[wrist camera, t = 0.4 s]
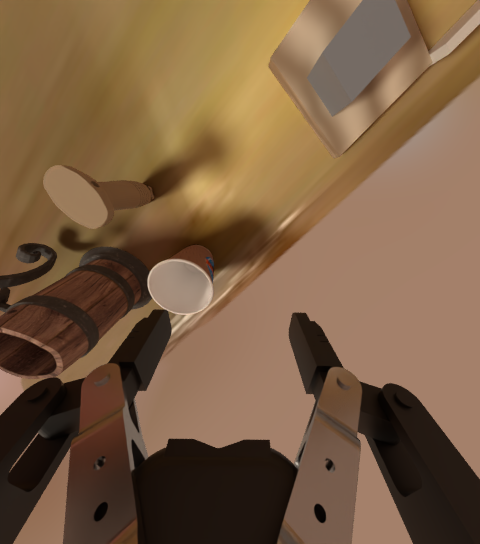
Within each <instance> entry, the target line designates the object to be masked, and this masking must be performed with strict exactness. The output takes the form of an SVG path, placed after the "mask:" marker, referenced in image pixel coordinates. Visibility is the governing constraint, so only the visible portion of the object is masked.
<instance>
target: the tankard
mask: <svg viewBox="0 0 480 544" xmlns="http://www.w3.org/2000/svg"><path fill="white" fill-rule="evenodd" d="M41 255H42V256H44V257H46V258H47V259H48V261H47V262H45V263H44V264H43V265H41V266H39V267H37V268H35V269H32V270H30V271H27V272H23V273H19V274H12V275H4V276H0V288H1V290H0V310H1V311H3V312H5V313H4V314H3V315H2V316H0V369H1V370H3V371H5V372H7V373H9V374H12V375H15V376H18V377H21V378H27V379H40V378H52V377H56V376H58V375H59V374H60V373H62V372H63V371H64V370H65V369H67V368H68V367H69V366H70V365H72V364H73V363H74V362H75V361H77V360H78V359H79V358H81V357H83V356H85V355H87V354H88V353H89V352H90V351H91V350H92V349H93V348H94V346H95V345H96V344H97V343H98V341H99V340H100V339H101V338H102V337H103V335H104V334H105V333H106V332H107V331H108V330H109V329H110V328H111V327H112V326H113V325H114V324H115V323H116V322H117V321H118V320H119V319H121V318H123V317H124V316H125V315H126V314H127V313H128V312H129V311H130V310H131V309H137V308H140V307H143V306H144V305H146V304H147V303H148V302H149V301H150V300H151V299H152V296H151V294H150V292H149V289H148V276H149V273H150V272H149V270H148V269H147V268H146V266H145V265H144V264H143V263H142V262H141V261H140V260H139V259H137V258H136V257H135V256H133V255H131V254H130V253H128V252H126V251H123V250H121V249H118V248H113V247H98V248H94V249H91V250H89V251H88V252H87V253H85V254H84V255H83V257H82V258H81V261H80V264H79V267H78V268H76V269H74V270H72V271H71V272H69V273H68V274H67V275H66V276H65V277H64V278H62V279H60V280H59V281H57V282H55V283H53V284H52V285H50V286H48V287H46V288H45V289H43V290H41V291H39V292H38V293H36V294H34V295H32V296H29V297H26V298H24V299H22V300H20V301H19V302H17V303H15V304H13V305H9V304H6V302H7V301H8V298H9V294H10V290H9V289H8V288H7V287H12V286H17V285H21V284H24V283H27V282H30V281H32V280H35V279H37V278H39V277H41V276H42V275H44V274H46V273H47V272H48V271H49V270H51V269H52V267H53V265H54V263H55V261H56V258H57V254H56V252H55V251H54V250H53V249H52V248H50V247H48V246H46V245H42V244H37V243H28V244H23V245H21V246H19V247H18V250H17V254H16V258H17V259H18V260H19V261H21V262H24V263H34V262H36V261H38V260H39V259H40V257H41Z"/></svg>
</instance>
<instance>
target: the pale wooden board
mask: <svg viewBox="0 0 480 544" xmlns="http://www.w3.org/2000/svg"><path fill="white" fill-rule="evenodd" d="M395 1H396V3H397V5H398V8H399V10H400V12H401V15H402V17H403V19H404V22H405V24H406V26H407V29H408V31H409V33H410V36H411V37H410V39H409V40H408V41H407V42H406V43H405V44H404V45H403V46H402V47H401V48H400V50H399V51H398V52H397V53H396V54H395V55H394V56H393V57H392V58H391V59H390V61H389V62H388V63H387V64H386V65H385V66H384V67H383V68H382V69H381V71H380V72H379V73H378V74H377V75H376V76H375V77H374V78H373V79H372V80H371V82H370V83H369V84H368V85H367V86H366V87H365V88H364V89H363V90H362V91H361V93H360V94H359V95H358V96H357V97H356V98H355V99H354V100H353V101H352V102H351V103H350V104H349V105H347V106H346V107H345V108H343V109H342V110H341V111H339V112H338V113H337V114H335V115H334V116H333V117H332V116H331V114H330V113H329V111H328V110H327V108H326V107H325V105H324V103H323V102H322V100H321V99H320V97H319V96H318V94H317V93H316V91H315V90H314V88H313V87H312V85H311V84H310V82H309V81H308V79H307V77H308V75H309V73H310V72H311V70H312V68H313V67H314V65H315V64H316V62H317V60H318V59H319V57H320V55H321V54H322V52H323V51H324V50H325V48H326V47H327V46H328V44H329V43H330V42H331V40H332V39H333V38H334V37H335V35H336V34H337V33H338V31H339V30H340V29H341V28H342V26H343V25H344V24H345V22H346V21H347V20H348V18H349V17H350V16H351V15H352V13H353V12H354V11H355V9H356V8H357V7H358V5H359V4H360V3H361V2H362V0H310V1H309V2H308V4H307V5H306V7H305V8H304V10H303V11H302V12H301V14H300V15H299V17H298V18H297V20H296V21H295V23H294V24H293V26H292V27H291V29H290V30H289V31H288V33H287V34H286V36H285V37H284V39H283V40H282V42H281V43H280V45H279V46H278V48H277V49H276V50H275V52H274V53H273V55H272V56H271V58H270V62H269V68H270V70H271V71H272V73H273V74H274V76H275V77H276V78H277V80H278V81H279V83H280V84H281V85H282V87H283V88H284V90H285V91H286V92H287V94H288V95H289V97H290V98H291V99H292V101H293V102H294V104H295V105H296V106H297V108H298V109H299V111H300V112H301V113H302V115H303V116H304V118H305V119H306V120H307V122H308V123H309V125H310V126H311V127H312V129H313V130H314V132H315V133H316V135H317V136H318V137H319V139H320V140H321V142H322V143H323V144H324V146H325V147H326V149H327V150H328V151H329V153H330V154H331V156H332V157H333V158H337V157H340V156H341V155H342V154H343V153H344V152H345V151H346V150H347V149H348V148H349V147H350V146H351V145H352V144H353V143H354V142H355V141H356V140H357V138H358V137H359V136H360V135H361V134H362V133H363V132H364V131H365V130H366V129H367V128H368V127H369V126H370V125H371V124H372V123H373V122H374V121H375V120H376V119H377V118H378V117H379V116H380V115H381V114H382V113H383V112H384V111H385V110H386V109H387V108H388V107H389V106H390V105H391V104H392V103H393V102H394V101H395V100H396V99H397V98H398V97H399V96H400V95H401V94H402V93H403V92H404V91H405V90H406V89H407V88H408V87H409V86H410V85H411V84H412V83H413V82H414V81H415V80H416V79H417V78H418V77H419V76H420V75H421V74H422V73H423V72H424V71H425V70H426V69H427V68H428V67H429V66H430V65H431V64H432V63H433V62H432V59H431V57H430V54H429V52H428V50H427V47H426V45H425V42H424V40H423V37H422V35H421V33H420V30H419V28H418V25H417V23H416V20H415V18H414V16H413V13H412V11H411V8H410V6H409V3H408V1H407V0H395Z"/></svg>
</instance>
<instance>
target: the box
mask: <svg viewBox="0 0 480 544" xmlns="http://www.w3.org/2000/svg"><path fill="white" fill-rule="evenodd" d="M479 24H480V0H477V1H476V2H475V3H474V4H473V6H472V7H471V8H470V9H469V10H468V11H467V12H466V13H465V14H464V15H463V16H462V17H461V18H460V19H459V20H458V21H457V22H456V23H455V24H454V25H453V26H452V27H451V28H450V29H449V30H448V32H447V33H446V34H445V35H444V36H443V37H442V38H441V39H440V40H439V41H438V42H437V43H436V44H435V45H434V46H433V47H432V48H431V49H430V50H429V51H428V52H429V54H430V57H431V59H432V62H433V63H432V64H434V63H436V62H437V61H439V60H440V59H442V58H444V57H445V56H447V55H448V54H450V53H451V52H452V51H453V50H454V49H455V48H456V47H457V46H458V45H459V44H460V43H461V42H462V41H463V40H464V39H465V38H466V37H467V36H468V35H469V34H470V33H471V32H472V31H473V30H474V29H475V28H476V27H477V26H478V25H479ZM432 64H431V65H432ZM431 65H430V66H431Z"/></svg>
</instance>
